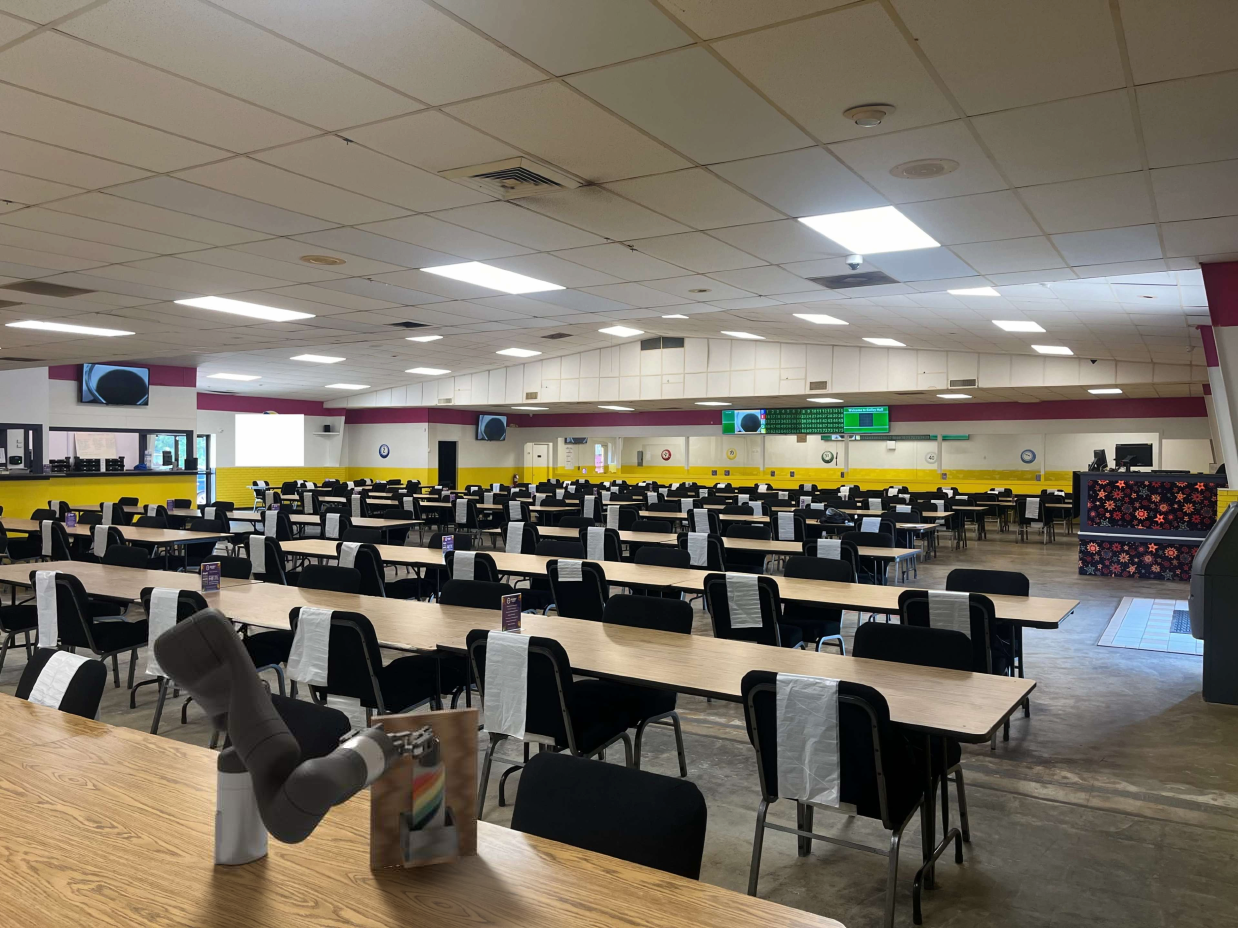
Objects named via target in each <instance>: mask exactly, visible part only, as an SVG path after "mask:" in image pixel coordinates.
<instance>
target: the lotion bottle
mask: <svg viewBox="0 0 1238 928" xmlns="http://www.w3.org/2000/svg"><path fill="white" fill-rule="evenodd" d="M444 816H445V765H444V763H442V762H440V741H439V740H438V739H436V738H433V749H432V750H431V751H429V752H428V753H426V754H425V755H424V756H422V757H421V758H419V763H418V764H416V765H415V766H414V772H413V831H418V830H426V829H433V828H440V827H444Z"/></svg>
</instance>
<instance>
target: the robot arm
mask: <svg viewBox="0 0 1238 928" xmlns="http://www.w3.org/2000/svg"><path fill="white" fill-rule="evenodd" d="M153 654H154V655H153V656H154V658H155V661H156V663H157V665H158V666H159V668H160V670H161V671H162V673H163V674H165V676H166V677H168V679H170V681H172V682H173V683H174V684H175V685H177V686H178V687H179V688H182V689H183V690H185V691H186V692H187V694H188V695H189V696H190V697H191V699H192V700H193V701H194V702H195V703H196V704H197V705H198V706H199V707H201V709H202V710H203V711H204V712H205V715H206V717H207V719H208V721H209V724H210V725H211V727H212V729H214V730H215V731H217V732H220V733H228V736H229V740H230V742H231V744H232V745H231V746H229V747H227V748H224V749H223V750H221V751H220V752H219V753H218V755H217V759H216V810H215V813H214V850H213V851H214V857H213V858H214V862H213V863H214V865H229V866H231V865H242V864H248V863H252V862H255V861H257V860H259V859H261V858H263V857H264V856H266V854H267V853H268V850H269V849H268V847H269V845H268V843H269V834H270V835H271V837H273V838H274V839H275V840H277V841H279V842H281V843H283V844H288V845H296V844H299V843H302V842H304V841H305V840H306V839H307V838H309V837H310V836H311V834H312V833H313V832H314V831H315V829H316V828H317V827H318V826H319V824H320V823H321V822H322V820H323V819H324V818H325V816H327V813H329V811H330V810H331V809H332V808H333V807H337V806H341V805H342V804H344V803H346V802H347V801H349V800H350V799H351V798H354V796H355V795H357V794H358V793H359V792H361V791H364V790H365V789H367V788H368V787H369V786H371V784H372V783H374V782H375V781H376V780H377V779H379V778H380V777H381V776H383V775H384V774H385V773H386V772H388V771H389V770H390V768H391V767H392V765H393V764H394V762H395V760H396V758H398V757H401V756H403V755H407V754H412V759H414V760H417V759H419V758H421V757H422V756H424V755H425V754H426V753H428V752H429V751H431V750H432V749H433V734H432V729H430V726H425V727H424V728H422V729H421V730H419V731H418V732H415V733H410V732H408V731H406V732H402V733H397V734H393V733H390V734H386V733H384V724H383V723H378V724H377V725H375V726H373V727H372V728H371V727H366V728H363V730H362V731H361V729H360V728H357V727H356V728H353V729H351V730H350V731H348V732H347V733H346V734H344V735H343V736H341V737H340V738H339V746H338V747H337V748H336V749H334V751H332V752H331V753H329V754H328V755H326V756H322V757H318V758H312V759H308V760H305V761H304V762H302V763H301V764H300V765H298V762H299V760H300V757H301V747H300V745H299V743H298V741H297V740H296V738H295V737H294V735H293V733H292V732H291V731H290V729H289V728H288V726H287V725H286V723H285V721H284V720H283V718H282V716H280V713H279V712H278V711H277V709H276V707H275V706H274V704H273V702H272V689H271V687H270V685H269V683H268V682H266V681H263V680H262V678H261V676H260V674H259V672H258V670H257V667H256V666H255V664H254V662H253V660H252V658H251V656H250V654H249V652H248V650H247V647H246V646H245V644H244V642H243V640H242V639H241V637H240V635H239V634H238V632H237V630H236V628H235V627H234V625H233V624H232V623H231V621H230V619H228V617H227V615H225V614H224V613H223V611H221V610H220V609H218V607H214V606H209V607H206V608H204V609H201V610H199V611H197V612H196V613H194V614H192V615H191V616H188V617H187V618H185V619H183V620H182V621H180V622H178V623H176V624H175V625H173V626H172V627H169V628H168V629H166V630H165V631H164V632H162V633H160V635H158V637H157V638H156V639H155V640H154V643H153ZM404 737H405V743H404V741H403V740H402V739H401V738H404ZM416 737H417V740H416V741H415V740H414V741H413V738H416ZM297 765H298V766H297Z"/></svg>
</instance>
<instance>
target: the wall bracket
mask: <svg viewBox="0 0 1238 928" xmlns="http://www.w3.org/2000/svg"><path fill="white" fill-rule="evenodd" d="M378 723H383V724H384V733H386V734H390V733H393V734H397V733H402V732H406V731H408V732H410V733H415V732H418V731H419V730H421V729H422V728H424V727H425V726H430V729H432V734H433V738H436V739H438V740H439V741H440V762H442V763H444V765H445V816H444V827H440V828H433V829H426V830H418V831H413V772H414V766H415V765H416V764H418V763H419V759H417V760H414V759H412V754H407V755H403V756H401V757H398V758H396V760H395V762H394V764H393V765H392V767H391V768H390V770H389V771H388V772H386V773H385V774H384V775H383V776H381V777H380V778H379V779H377V780H376V781H375V782H374V783H372V784H371V785H370V791H369V792H370V800H369V803H370V805H369V807H370V809H369V812H370V813H369V869H370V871H374V870H373V869H375V870H380V869H379V868H382V869H385V868H384V867H389V868H391V867H390V866H396V867H398V866H397V865H402V866H404V869H409V868H414V867H415V868H416V867H421V866H428V865H434V864H441V863H442V864H443V863H449V862H455V861H460V858H461V857H468V856H469V857H470V856H475V855H478V797H479V796H478V792H479V791H478V787H479V786H478V785H479V784H478V783H479V782H478V777H479V774H478V773H479V772H478V771H479V769H478V767H479V766H478V765H479V762H478V761H479V709H478V707H475V706H474V707H465V708H454V709H443V710H441V709H440V710H433V711H421V712H411V713H410V712H407V713H399V714H398V713H397V714H396V713H395V714H386V715H385V714H384V715H375V716H373V715H372V716H370V728H372V727H373V726H375V725H377V724H378ZM401 739H402V740H403V741H404V743H405V737H404V738H401ZM414 740H415V741H416V740H417V737H416V738H413V741H414Z"/></svg>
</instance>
